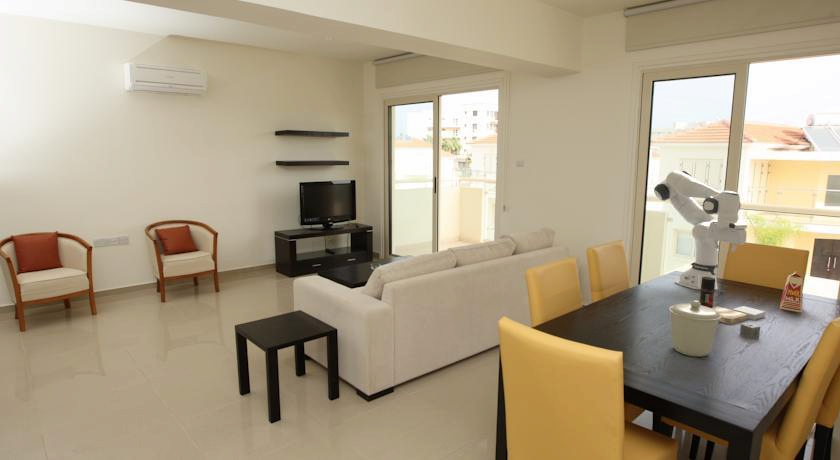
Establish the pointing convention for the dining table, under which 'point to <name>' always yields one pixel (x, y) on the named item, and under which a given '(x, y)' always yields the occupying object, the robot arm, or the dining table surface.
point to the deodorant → (707, 291)
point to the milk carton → (792, 294)
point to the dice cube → (750, 330)
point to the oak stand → (730, 315)
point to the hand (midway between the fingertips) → (724, 250)
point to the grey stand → (751, 312)
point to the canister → (693, 328)
